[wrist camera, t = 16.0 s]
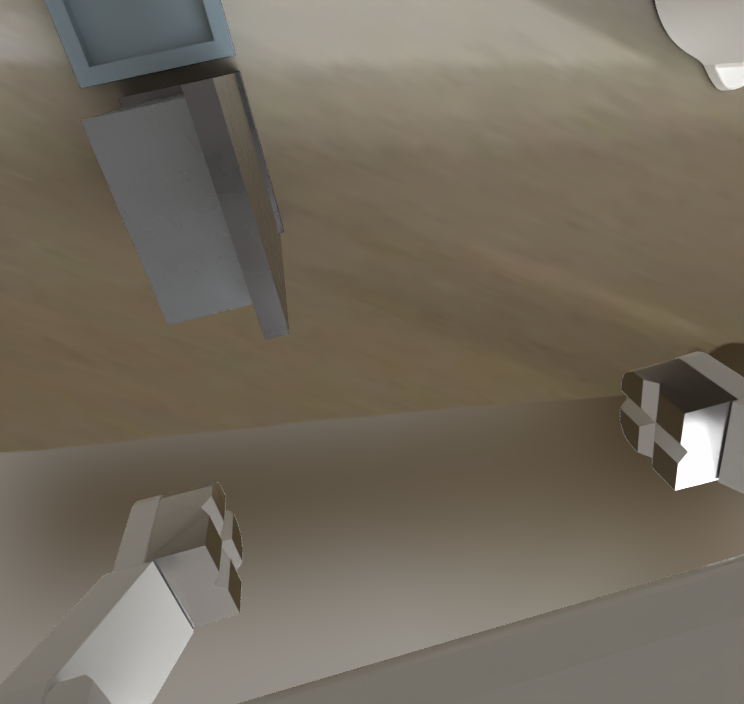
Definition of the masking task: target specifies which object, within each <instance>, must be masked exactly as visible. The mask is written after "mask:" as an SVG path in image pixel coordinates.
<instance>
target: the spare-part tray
mask: <svg viewBox="0 0 744 704" xmlns="http://www.w3.org/2000/svg"><path fill="white" fill-rule="evenodd" d="M44 1H45V4H46V6H47V9H48V11H49V13H50V16H51V18H52V21H53V23H54V25H55V28H56V30H57V33H58V35H59V38H60V40H61V42H62V45H63V47H64V50H65V52H66V54H67V57H68V59H69V62H70V64H71V66H72V69H73V71H74V74H75V76H76V79H77V81H78V83H79V86H80V88H84V87H90V86H95V85H99V84H104V83H109V82H113V81H118V80H123V79H127V78H132V77H137V76H141V75H146V74H150V73H155V72H160V71H164V70H169V69H174V68H178V67H183V66H188V65H192V64H197V63H202V62H206V61H211V60H216V59H220V58H225V57H230V56H234V55H236V54H235V51H234V47H233V43H232V40H231V36H230V33H229V29H228V25H227V22H226V18H225V14H224V11H223V7H222V4H221V0H44Z"/></svg>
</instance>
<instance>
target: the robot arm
mask: <svg viewBox="0 0 744 704" xmlns="http://www.w3.org/2000/svg"><path fill="white" fill-rule="evenodd" d="M655 4H656V8H657V11H658V15H659V17H660V20H661V22H662V24H663V27H664V28H665V30H666V32H667V33H668V35H669V36H670V38H671V39H672V40H673V41H674V42H675V44H677V45H678V46H679V47H680V48H681V49H682V50H684V51H685V52H687V53H688V54H690V55H692V56H693V57H695V58H696V59H698V60H699V61H700V62H701V63H702V64H703V65H704V67H705V69H706V72H707V74H708V76H709V78H710V79H711V81H712V83H713V84H714V86H715V87H716V88H717V89H719V90H723V91H724V90H734V89H737V88H740V87H742V86H744V0H655ZM621 390H622V391H623V392H624V393H625V394H626V395H627V397H628V398H627V399H626V400H625V402H624V403H623V405H622V406H621V408H620V423H621V426H622V429H623V433H624V435H625V437H626V439H627V440H628V442H629V443H630V445H631V446H632V447H633V448H634V449H635V450H636V451H637V452H638V453H641V454H644V455H646V456H649V457H652V468H653V469H654V470H655V471H656V472H657V473H658V474H659V475H660V476H661V477H662V478H663V479H664V480H665V481H666V482H667V483H668V484H669V485H670V486H671V487H672V488H673V489H674V490H679V489H683V488H687V487H691V486H695V485H699V484H703V483H707V482H711V481H715V480H718V482H719V483H722V484H724V485H726V486H728V487H730V488H732V489H734V490H737V491H739V492H741V493H743V494H744V378H743V377H742V376H740V375H739V374H737V373H736V372H734V371H733V370H731V369H729V368H728V367H726V366H725V365H723V364H722V363H720V362H719V361H717V360H716V359H714V358H712V357H711V356H709V355H708V354H706V353H703V352H698V351H697V352H694V353H690V354H687V355H683V356H680V357H677V358H673V359H672V360H669V361H665V362H661V363H658V364H654V365H650V366H647V367H643V368H639V369H636V370H632V371H628V372H625V374H624V376H623V378H622V385H621ZM225 502H226V496H225V494H224V492H223V490H222V488H221V486H220V484H219V483H217V482H212V483H208V484H204V485H200V486H195V487H192V488H187V489H183V490H179V491H175V492H171V493H167V494H164V495H160V496H156V497H152V498H148V499H144V500H140V501H137V502H136V503H135V504H134V505H133V507H132V509H131V512H130V516H129V519H128V522H127V526H126V529H125V532H124V535H123V539H122V542H121V546H120V549H119V552H118V555H117V559H116V562H115V565H114V568H113V572H111V573H108V574H104V575H103V576H102V577H101V578H100V579H99V581H98V582H97V583H96V584H95V585H94V586H93V587H92V588H91V589H90V590H89V591H88V592H87V593H86V594H85V595H84V596H83V597H82V598H81V600H80V601H79V602H78V603H77V604H76V605H75V606H74V607H73V608H72V609H71V610H70V611H69V612H68V613H67V614H66V615H65V617H64V618H63V619H62V620H61V621H60V622H59V623H58V624H57V625H56V626H55V627H54V628H53V629H52V630H51V631H50V632H49V634H48V635H47V636H46V637H45V638H44V639H43V640H42V641H41V642H40V643H39V644H38V645H37V646H36V647H35V648H34V649H33V651H32V652H31V653H30V654H29V655H28V656H27V657H26V658H25V659H24V660H23V661H22V662H21V663H20V664H19V665H18V666H17V668H16V669H15V670H14V671H13V672H12V673H11V674H10V675H9V676H8V677H7V678H6V679H5V680H4V681H3V682H2V683H1V684H0V704H152V702H153V701H154V699H155V698H156V696H157V694H158V692H159V691H160V689H161V687H162V685H163V684H164V681H165V680H166V679H167V677H168V675H169V673H170V672H171V670H172V668H173V666H174V665H175V663H176V661H177V660H178V658H179V656H180V654H181V653H182V651H183V649H184V648H185V646H186V644H187V642H188V641H189V639H190V637H191V636H192V634H193V632H194V631H193V629H194V628H197V627H200V626H203V625H207V624H210V623H213V622H216V621H219V620H223V619H226V618H229V617H232V616H235V615H239V614H240V605H241V584H242V583H241V580H240V578H239V576H238V573H237V571H236V570H237V569H238V568H239V566H240V565H241V563H242V560H243V556H242V555H243V547H242V540H241V533H240V530H239V526H238V523H237V520H236V518H235V516H234V513H232V512H230V511H228V510H226V509H225ZM238 704H744V554H743V555H740V556H737V557H734V558H730V559H726V560H723V561H720V562H716V563H713V564H710V565H706V566H703V567H699V568H696V569H692V570H689V571H686V572H682V573H679V574H676V575H672V576H669V577H666V578H662V579H659V580H655V581H652V582H648V583H645V584H642V585H638V586H635V587H631V588H628V589H625V590H621V591H618V592H614V593H611V594H608V595H604V596H601V597H598V598H594V599H591V600H587V601H584V602H581V603H577V604H574V605H570V606H567V607H564V608H560V609H557V610H553V611H550V612H547V613H543V614H540V615H537V616H533V617H530V618H526V619H523V620H519V621H516V622H513V623H509V624H506V625H502V626H499V627H496V628H492V629H489V630H485V631H482V632H479V633H475V634H472V635H468V636H465V637H462V638H458V639H455V640H451V641H448V642H445V643H441V644H438V645H434V646H431V647H428V648H424V649H421V650H418V651H414V652H411V653H407V654H404V655H400V656H397V657H394V658H391V659H387V660H384V661H380V662H377V663H374V664H370V665H367V666H363V667H360V668H357V669H353V670H350V671H346V672H343V673H339V674H336V675H333V676H329V677H326V678H322V679H320V680H316V681H312V682H309V683H305V684H302V685H299V686H296V687H292V688H289V689H285V690H282V691H278V692H275V693H272V694H268V695H265V696H261V697H258V698H255V699H252V700H248V701H244V702H241V703H238Z"/></svg>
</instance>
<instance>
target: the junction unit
mask: <svg viewBox="0 0 744 704" xmlns="http://www.w3.org/2000/svg"><path fill="white" fill-rule="evenodd" d="M118 99H119V101H120V104H121V107H122V108H121V109H118V110H114V111H111V112H108V113H104V114H101V115H98V116H94V117H91V118H88V119H84V120H81V123H82V125H83V128H84V130H85V132H86V135H87V137H88V139H89V142H90V144H91V146H92V149H93V151H94V153H95V156H96V158H97V160H98V163H99V165H100V167H101V170H102V172H103V175H104V177H105V179H106V182H107V184H108V186H109V189H110V191H111V193H112V196H113V198H114V200H115V203H116V205H117V207H118V210H119V212H120V214H121V217H122V219H123V221H124V224H125V226H126V228H127V231H128V233H129V236H130V238H131V240H132V243H133V245H134V247H135V250H136V252H137V254H138V257H139V259H140V261H141V264H142V266H143V268H144V271H145V273H146V275H147V278H148V280H149V282H150V285H151V287H152V289H153V292H154V294H155V296H156V299H157V301H158V304H159V306H160V308H161V311H162V313H163V315H164V318H165V320H166V322H167V325H170V324H174V323H178V322H182V321H186V320H190V319H195V318H199V317H203V316H207V315H211V314H215V313H219V312H223V311H227V310H231V309H235V308H239V307H243V306H248V305H252V304H253V306H254V309H255V312H256V315H257V318H258V321H259V324H260V327H261V330H262V333H263V336H264V339H265V340H266V339H270V338H274V337H278V336H282V335H286V334H289V324H288V314H287V303H286V292H285V282H284V271H283V260H282V250H281V239H280V233H283V232H284V229H283V225H282V221H281V217H280V214H279V210H278V206H277V203H276V199H275V196H274V192H273V188H272V185H271V181H270V177H269V174H268V170H267V167H266V163H265V159H264V156H263V152H262V148H261V145H260V141H259V138H258V134H257V130H256V127H255V123H254V119H253V116H252V112H251V109H250V105H249V101H248V98H247V94H246V90H245V87H244V83H243V80H242V76H241V72H236V73H232V74H227V75H222V76H218V77H213V78H209V79H204V80H199V81H195V82H190V83H186V84H181V85H176V86H172V87H167V88H163V89H158V90H153V91H149V92H144V93H140V94H135V95H130V96H126V97H121V98H118Z"/></svg>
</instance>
